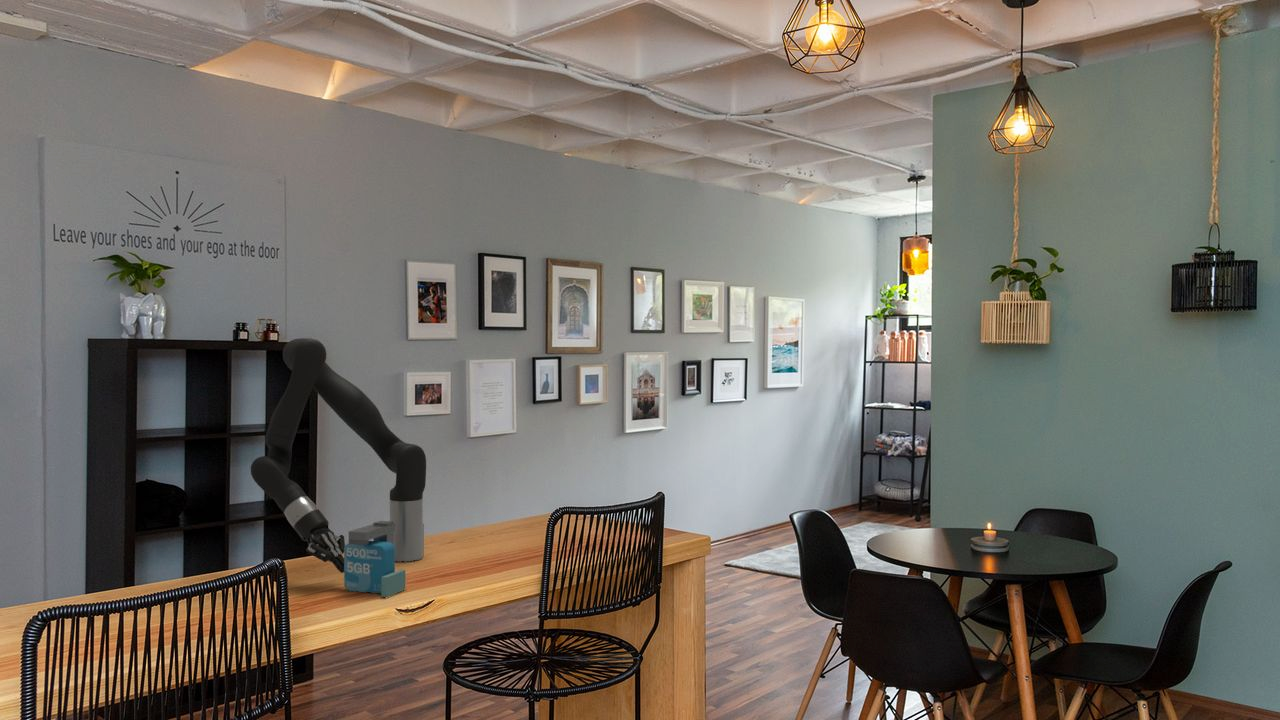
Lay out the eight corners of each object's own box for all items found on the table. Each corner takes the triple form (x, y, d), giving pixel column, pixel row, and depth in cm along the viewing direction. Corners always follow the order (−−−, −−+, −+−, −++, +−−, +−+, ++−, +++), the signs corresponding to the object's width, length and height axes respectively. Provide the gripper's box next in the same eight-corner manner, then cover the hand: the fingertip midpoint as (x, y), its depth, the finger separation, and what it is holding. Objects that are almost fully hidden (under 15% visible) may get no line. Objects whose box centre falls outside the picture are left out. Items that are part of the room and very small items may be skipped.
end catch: (400, 589, 236) (400, 569, 236) (405, 589, 235) (405, 570, 235) (381, 597, 228) (381, 576, 228) (386, 597, 228) (386, 577, 228)
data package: (343, 590, 234) (343, 542, 234) (354, 586, 239) (354, 539, 239) (384, 594, 231) (384, 546, 230) (395, 590, 235) (395, 542, 235)
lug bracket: (380, 579, 245) (380, 519, 245) (403, 582, 243) (403, 520, 243) (345, 593, 232) (345, 529, 231) (369, 596, 229) (369, 531, 229)
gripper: (297, 512, 233) (337, 566, 229) (331, 504, 245) (370, 555, 241) (279, 532, 235) (319, 585, 231) (314, 523, 247) (353, 573, 243)
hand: (345, 570), depth 236 cm, fingers closed
